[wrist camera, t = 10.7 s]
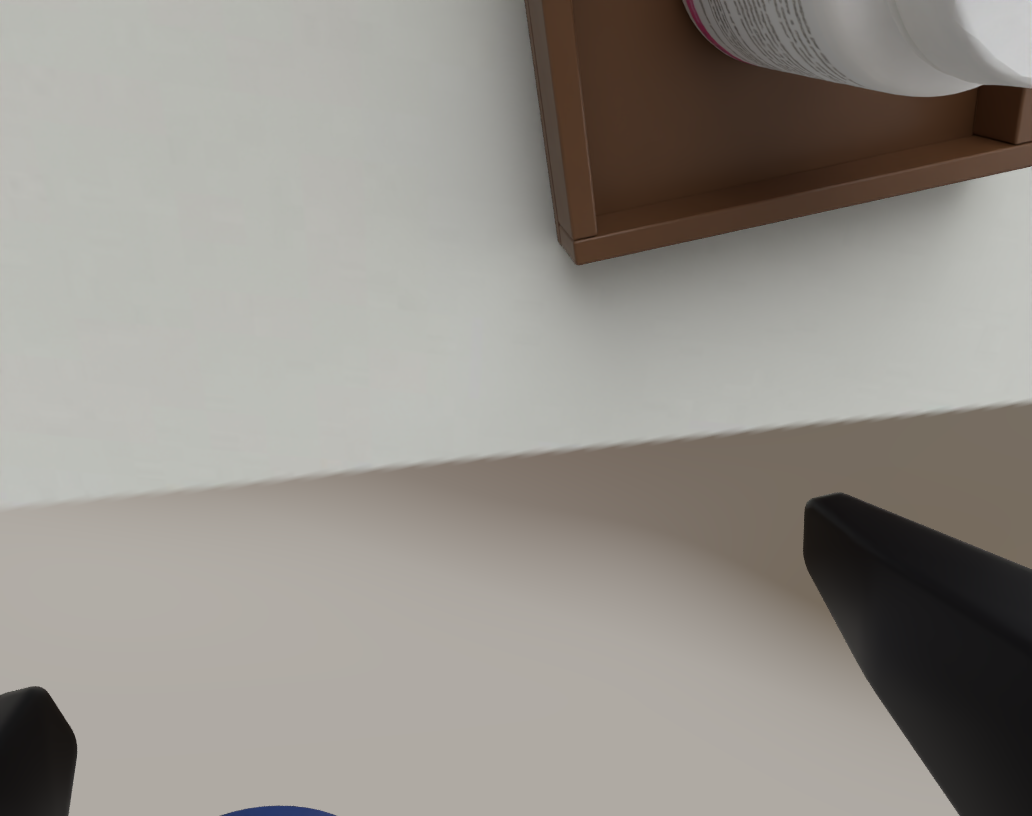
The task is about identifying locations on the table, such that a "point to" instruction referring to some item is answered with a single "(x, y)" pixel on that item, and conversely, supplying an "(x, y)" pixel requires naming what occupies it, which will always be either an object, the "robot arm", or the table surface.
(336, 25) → the table surface
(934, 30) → the pill bottle
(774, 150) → the tray
